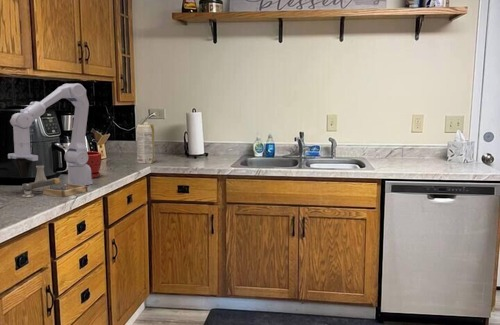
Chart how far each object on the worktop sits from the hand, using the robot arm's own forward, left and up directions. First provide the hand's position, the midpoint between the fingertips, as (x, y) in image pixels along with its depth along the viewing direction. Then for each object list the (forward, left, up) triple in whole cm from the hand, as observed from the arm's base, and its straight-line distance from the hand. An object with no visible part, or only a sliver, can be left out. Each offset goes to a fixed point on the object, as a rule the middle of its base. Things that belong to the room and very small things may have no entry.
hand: (23, 177), depth 185 cm
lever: (-3, +6, -4) cm, 8 cm away
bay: (-8, +14, -6) cm, 17 cm away
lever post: (+3, +6, -6) cm, 9 cm away
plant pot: (-40, -5, -7) cm, 41 cm away
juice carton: (-93, -11, -7) cm, 94 cm away
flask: (-8, 0, -7) cm, 10 cm away
